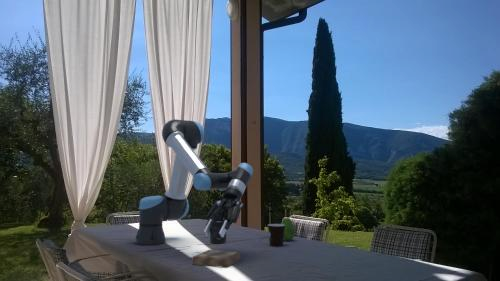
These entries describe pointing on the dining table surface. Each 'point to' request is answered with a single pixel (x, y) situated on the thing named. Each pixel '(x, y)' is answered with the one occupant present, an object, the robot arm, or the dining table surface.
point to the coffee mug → (276, 234)
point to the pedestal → (217, 258)
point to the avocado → (288, 229)
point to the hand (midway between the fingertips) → (213, 234)
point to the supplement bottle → (217, 229)
